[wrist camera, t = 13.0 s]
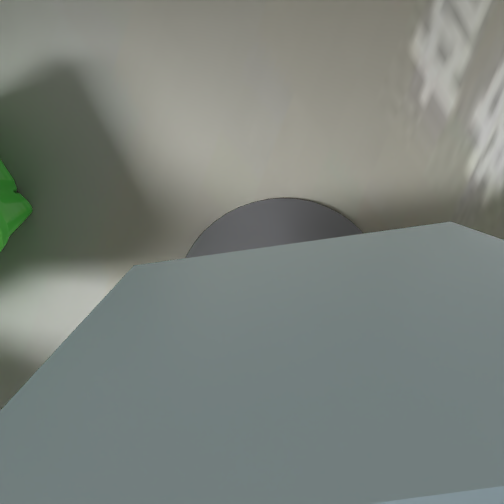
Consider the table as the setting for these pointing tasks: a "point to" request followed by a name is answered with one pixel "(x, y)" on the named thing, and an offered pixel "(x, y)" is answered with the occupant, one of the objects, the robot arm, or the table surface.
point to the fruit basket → (10, 206)
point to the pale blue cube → (277, 380)
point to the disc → (271, 226)
